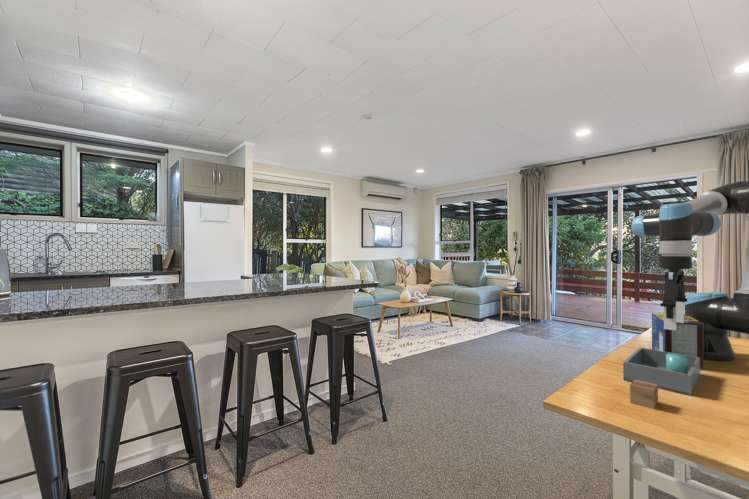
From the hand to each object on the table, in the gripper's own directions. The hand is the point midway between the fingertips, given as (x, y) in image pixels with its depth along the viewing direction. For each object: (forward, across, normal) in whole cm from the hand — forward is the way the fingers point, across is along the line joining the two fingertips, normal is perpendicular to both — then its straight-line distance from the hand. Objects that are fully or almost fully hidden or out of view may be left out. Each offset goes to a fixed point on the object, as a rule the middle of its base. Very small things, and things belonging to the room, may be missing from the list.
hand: (674, 325), depth 106 cm
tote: (+17, -2, -3) cm, 18 cm away
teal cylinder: (+16, -2, 0) cm, 17 cm away
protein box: (+17, -25, -3) cm, 31 cm away
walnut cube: (+18, +23, -3) cm, 29 cm away
